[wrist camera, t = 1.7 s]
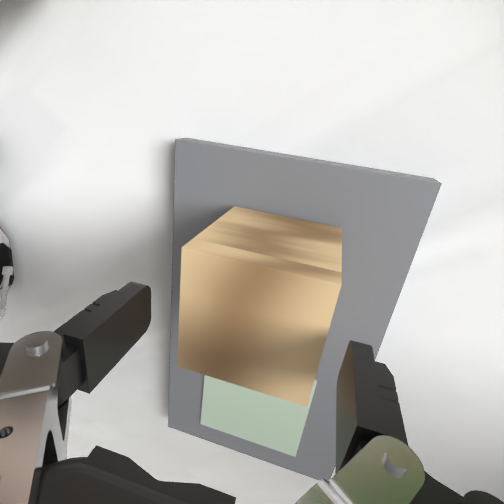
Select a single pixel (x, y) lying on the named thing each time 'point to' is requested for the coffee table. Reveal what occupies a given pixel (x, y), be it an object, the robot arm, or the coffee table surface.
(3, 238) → the robot toy
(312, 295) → the cardboard box
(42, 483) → the robot arm
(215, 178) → the post board
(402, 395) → the coffee table surface
